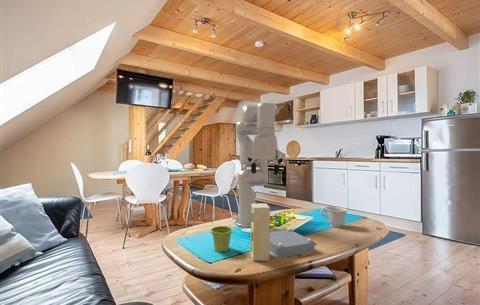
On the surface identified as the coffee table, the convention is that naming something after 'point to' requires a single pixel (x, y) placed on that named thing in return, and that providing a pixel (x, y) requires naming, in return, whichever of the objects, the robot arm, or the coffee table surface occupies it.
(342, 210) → the teacup
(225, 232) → the plant pot
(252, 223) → the cream tall block
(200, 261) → the coffee table surface
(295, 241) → the base block
